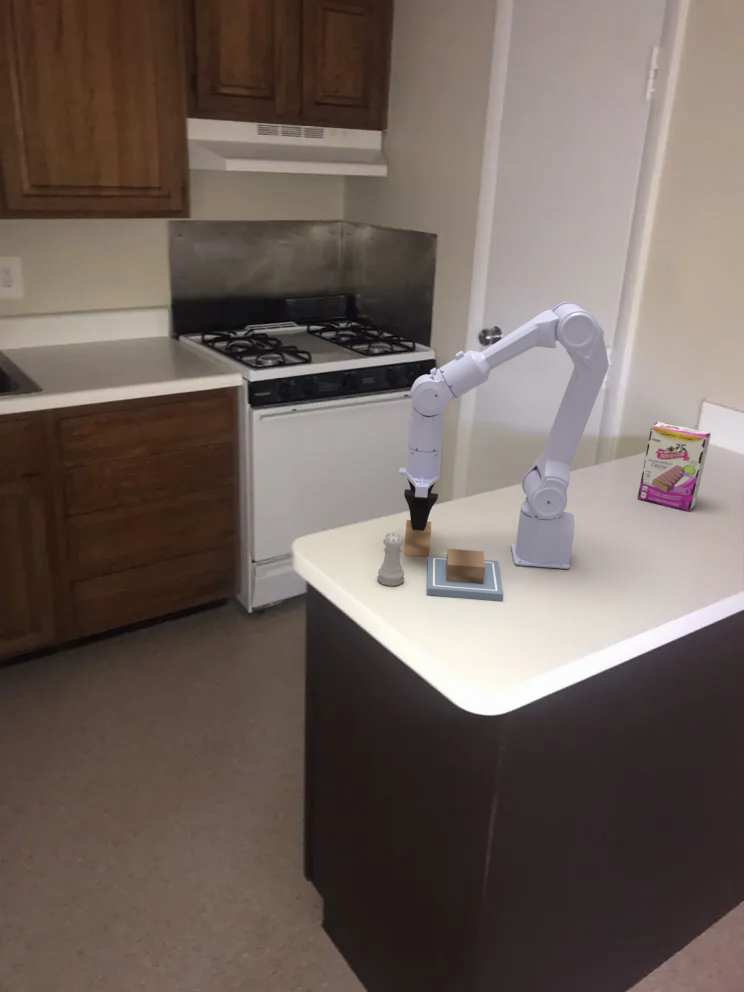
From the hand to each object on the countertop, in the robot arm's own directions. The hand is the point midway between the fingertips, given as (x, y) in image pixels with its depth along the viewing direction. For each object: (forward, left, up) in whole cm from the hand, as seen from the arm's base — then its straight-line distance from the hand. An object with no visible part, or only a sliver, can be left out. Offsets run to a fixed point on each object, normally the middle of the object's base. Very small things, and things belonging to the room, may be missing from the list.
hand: (418, 520), depth 145 cm
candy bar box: (-52, -33, -6) cm, 62 cm away
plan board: (-8, +10, -6) cm, 14 cm away
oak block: (0, 0, -6) cm, 6 cm away
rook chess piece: (+4, +12, -6) cm, 14 cm away
